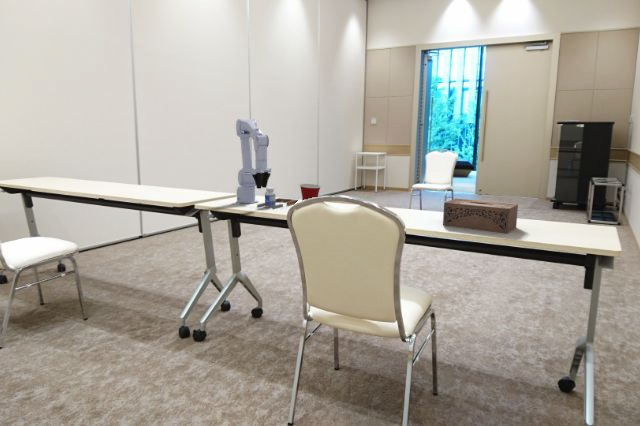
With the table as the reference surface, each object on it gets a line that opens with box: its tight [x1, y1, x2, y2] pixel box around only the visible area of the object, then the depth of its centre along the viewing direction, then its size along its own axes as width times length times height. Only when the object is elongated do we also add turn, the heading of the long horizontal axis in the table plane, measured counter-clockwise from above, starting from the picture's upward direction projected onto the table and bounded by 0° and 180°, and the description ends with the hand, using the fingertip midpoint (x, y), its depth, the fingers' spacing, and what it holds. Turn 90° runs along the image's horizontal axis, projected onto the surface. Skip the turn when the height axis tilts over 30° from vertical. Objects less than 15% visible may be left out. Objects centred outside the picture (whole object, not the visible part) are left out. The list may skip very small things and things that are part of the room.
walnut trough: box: [276, 197, 299, 206], centre depth 246 cm, size 12×10×2 cm
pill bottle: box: [264, 187, 277, 208], centre depth 234 cm, size 6×5×10 cm
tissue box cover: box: [442, 198, 519, 234], centre depth 190 cm, size 26×14×10 cm, turn 55°
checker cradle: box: [256, 202, 284, 210], centre depth 235 cm, size 10×8×1 cm
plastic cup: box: [299, 183, 322, 201], centre depth 230 cm, size 11×11×12 cm
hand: (261, 188), depth 227 cm, fingers open, 4 cm apart
